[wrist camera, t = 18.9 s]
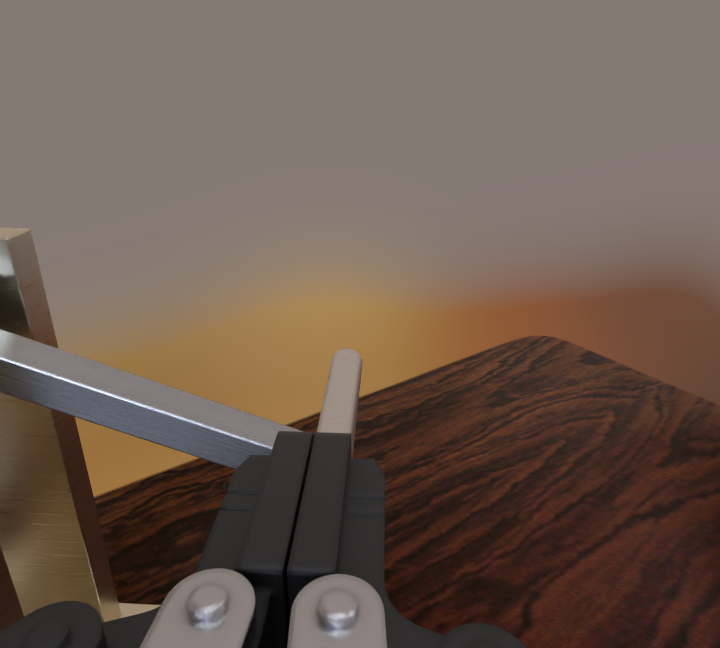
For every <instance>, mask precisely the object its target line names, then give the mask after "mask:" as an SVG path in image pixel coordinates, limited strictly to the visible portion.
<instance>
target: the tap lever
mask: <svg viewBox="0 0 720 648" xmlns="http://www.w3.org/2000/svg"><path fill="white" fill-rule="evenodd" d="M361 371H362V359H361V356H360V355H359V354H358V353H357V352H356V351H354V350H352V349H347V348H346V349H341V350H339V351H337V352H336V353H335V354H334V356H333V359H332V363H331V367H330V373H329V377H328V381H327V386H326V391H325V395H324V400H323V405H322V410H321V414H320V419H319V424H318V428H317V432H328V433H351V458H352V456H353V447H354V437H355V428H356V419H357V409H358V400H359V390H360V380H361ZM0 392H1V393H4V394H7V395H10V396H13V397H16V398H19V399H22V400H25V401H28V402H31V403H34V404H37V405H40V406H43V407H46V408H49V409H53V410H56V411H59V412H62V413H65V414H68V415H71V416H74V417H77V418H80V419H83V420H86V421H89V422H92V423H95V424H98V425H102V426H104V427H108V428H111V429H114V430H117V431H120V432H123V433H126V434H129V435H132V436H135V437H138V438H141V439H144V440H147V441H150V442H153V443H156V444H159V445H163V446H166V447H169V448H172V449H175V450H178V451H181V452H184V453H187V454H190V455H193V456H196V457H199V458H202V459H205V460H208V461H211V462H214V463H218V464H221V465H224V466H227V467H230V468H233V469H237V468H238V467H239V466H240V465H241V464H242V463H243V462H244V461H245V460H246V459H247V458H248V457H249V456H250V455H271V452H272V448H273V445H274V442H275V439H276V436H277V433H278V431H296V432H303V431H300V430H297V429H294V428H291V427H288V426H285V425H282V424H279V423H277V422H274V421H271V420H268V419H265V418H262V417H259V416H256V415H253V414H250V413H247V412H244V411H241V410H238V409H235V408H232V407H229V406H226V405H223V404H220V403H217V402H214V401H211V400H208V399H206V398H203V397H199V396H197V395H194V394H191V393H188V392H184V391H182V390H179V389H176V388H173V387H170V386H167V385H164V384H161V383H158V382H155V381H152V380H149V379H146V378H143V377H140V376H137V375H135V374H131V373H129V372H126V371H123V370H120V369H116V368H114V367H111V366H108V365H105V364H102V363H99V362H96V361H93V360H90V359H87V358H84V357H81V356H78V355H75V354H72V353H69V352H67V351H63V350H61V349H58V348H55V347H52V346H49V345H46V344H43V343H40V342H37V341H34V340H31V339H28V338H25V337H22V336H19V335H16V334H13V333H10V332H7V331H4V330H2V329H0Z"/></svg>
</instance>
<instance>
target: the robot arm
mask: <svg viewBox="0 0 720 648" xmlns="http://www.w3.org/2000/svg"><path fill="white" fill-rule="evenodd" d="M384 553H385V475H384V473H383V472H382V470H381V468H380V466H379V465H378V463H377V461H376V460H375V459H357V458H351V433H328V432H316V434H314V432H296V431H278V433H277V436H276V439H275V442H274V445H273V448H272V452H271V455H250V456H249V457H248V458H247V459H246V460H245V461H244V462H243V463H242V464H241V465H240V466H239V467H238V468H237V469H236V470H235V471H234V474H233V476H232V479H231V481H230V484H229V486H228V489H227V494H225V497H224V499H223V502H222V504H221V510H219V512H218V514H217V517H216V520H215V522H214V525H213V527H212V530H211V532H210V535H209V537H208V540H207V542H206V545H205V548H204V550H203V553H202V555H201V558H200V560H199V563H198V565H197V568H196V570H195V573H194V574H192V575H190V576H188V577H186V578H185V579H183V580H182V581H181V582H179V583H178V584H177V585H176V586H175V587H174V588H173V589H172V590H171V591H170V592H169V593H168V595H167V596H166V598H165V600H164V601H163V603H162V605H161V606H159V607H157V608H155V609H152V610H150V611H147V612H144V613H140V614H136V615H132V616H128V617H124V618H119V619H115V620H111V621H107V622H103V623H102V622H101V618H100V615H99V614H98V612H97V611H96V610H95V609H94V608H93V607H92V606H90V605H88V604H87V603H83V602H80V601H62V602H57V603H53V604H50V605H46V606H44V607H42V608H39V609H37V610H35V611H33V612H32V613H30V614H28V615H26V616H25V617H23V618H21V619H20V620H18V621H17V622H15V623H13V624H12V625H10V626H9V627H7V628H5V629H4V630H2V631H1V632H0V648H527V647H526V646H525V645H524V644H523V643H522V642H521V641H519V640H518V639H517V638H516V637H515V636H513V635H512V634H510V633H509V632H507V631H506V630H503V629H501V628H499V627H497V626H493V625H490V624H485V623H468V624H463V625H460V626H457V627H455V628H454V629H452V630H450V631H449V632H448V633H447V634H446V635H445V636H444V635H442V634H439V633H436V632H434V631H431V630H428V629H426V628H423V627H421V626H418V625H416V624H414V623H412V622H411V621H409V620H408V619H406V618H405V617H404V616H402V615H401V614H400V613H399V612H398V611H397V610H396V609H395V607H394V606H393V605H392V603H391V602H390V600H389V598H388V596H387V593H386V589H385V584H384Z"/></svg>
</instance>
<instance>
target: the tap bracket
mask: <svg viewBox="0 0 720 648" xmlns="http://www.w3.org/2000/svg"><path fill="white" fill-rule="evenodd" d="M0 329H2V330H4V331H7V332H10V333H13V334H16V335H19V336H22V337H25V338H28V339H31V340H34V341H37V342H40V343H43V344H46V345H49V346H52V347H55V348H58V344H57V340H56V336H55V332H54V327H53V323H52V319H51V315H50V310H49V306H48V302H47V298H46V293H45V289H44V285H43V281H42V276H41V273H40V268H39V264H38V260H37V255H36V251H35V247H34V242H33V238H32V234H31V230H30V229H28V228H0ZM58 349H59V348H58ZM62 601H80V602H83V603H87V604H88V605H90V606H92V607H93V608H94V609H95V610H96V611H97V612H98V614H99V615H100V618H101V622H102V623H103V622H107V621H111V620H115V619H119V618H124V617H128V616H132V615H136V614H140V613H144V612H147V611H150V610H152V609H155V608H157V607H159V606H161V605H152V604H133V603H118V599H117V594H116V590H115V586H114V582H113V577H112V573H111V569H110V565H109V560H108V556H107V552H106V548H105V543H104V539H103V535H102V531H101V526H100V522H99V518H98V514H97V510H96V505H95V501H94V497H93V493H92V489H91V484H90V480H89V476H88V471H87V467H86V463H85V459H84V455H83V450H82V446H81V442H80V438H79V433H78V429H77V425H76V421H75V417H74V416H71V415H68V414H65V413H62V412H59V411H56V410H53V409H49V408H46V407H43V406H40V405H37V404H34V403H31V402H28V401H25V400H22V399H19V398H16V397H13V396H10V395H7V394H4V393H1V392H0V632H1V631H2V630H4V629H5V628H7V627H9V626H10V625H12V624H13V623H15V622H17V621H18V620H20V619H21V618H23V617H25V616H26V615H28V614H30V613H32V612H33V611H35V610H37V609H39V608H42V607H44V606H46V605H50V604H53V603H57V602H62Z"/></svg>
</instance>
